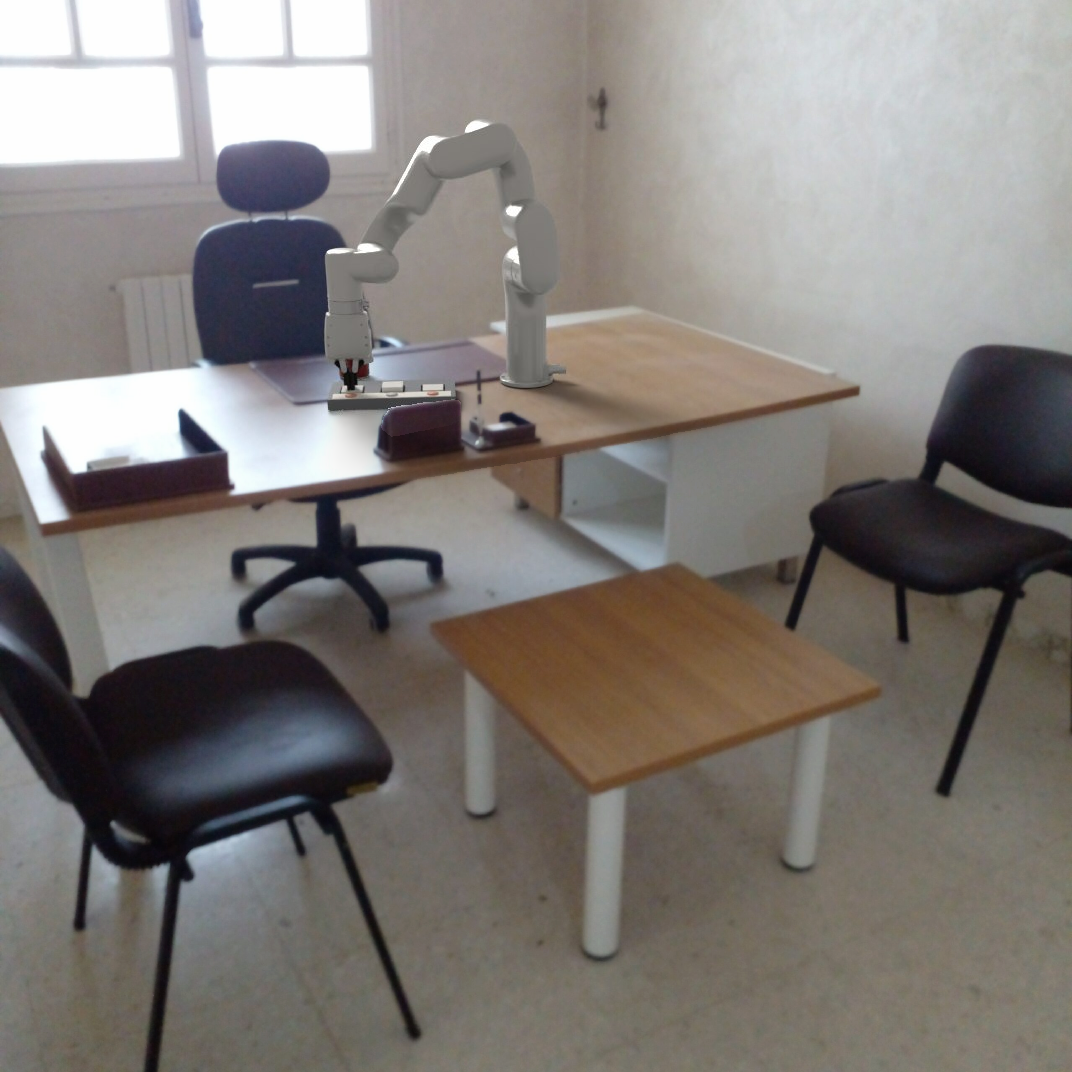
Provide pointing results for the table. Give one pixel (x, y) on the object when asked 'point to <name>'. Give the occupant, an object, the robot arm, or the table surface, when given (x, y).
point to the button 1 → (357, 390)
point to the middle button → (392, 386)
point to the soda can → (361, 372)
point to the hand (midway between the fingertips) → (351, 388)
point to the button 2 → (432, 387)
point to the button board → (388, 395)
